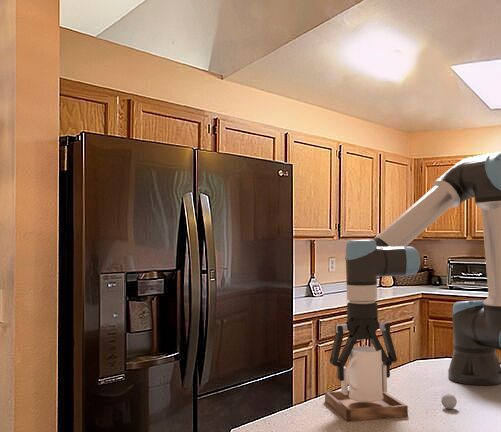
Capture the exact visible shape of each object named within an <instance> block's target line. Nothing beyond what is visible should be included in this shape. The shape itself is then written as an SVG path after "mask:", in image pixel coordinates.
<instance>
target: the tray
mask: <svg viewBox="0 0 501 432" xmlns="http://www.w3.org/2000/svg"><path fill="white" fill-rule="evenodd" d="M383 397H384V398H383V399H382V400H380V401H376V402H360V401H355V400H352V399H350V398H349V389H348V395H344V394H343V393H342V392H341V390H335V391H324V402H325V403H326V405H328V406H329V407H331V409H333V410H334V411H335V412H336V413H337V414H338V415H340V417H342V418H343V419H344V420H345V421H346V422H355V421H356V422H358V421H369V420H370V421H371V420H379V419H380V420H381V419H394V418H405V417H406V418H407V417H409V413H408V412H409V409H408V408H409V407H408V405H407V404H405V403H404V402H402V401H400V400H399V399H398V398H396V397H394V396H393V395H391V394H390V393H388V392H383Z"/></svg>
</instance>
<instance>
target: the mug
mask: <svg viewBox="0 0 501 432" xmlns="http://www.w3.org/2000/svg"><path fill="white" fill-rule="evenodd" d="M382 364H383V362H382V354H381V350H379V351H376V349H375V348H374V346H367V345H366V346H364V345H362V346H354V347H353V349H352V351H351V353H350V355H349V357H348V363H347V366H346V368H347V369H346V380H347V383H348V390H349V398H350V399H352V400H355V401H360V402H376V401H380V400H382V399H383V398H384V397H383V391H382Z"/></svg>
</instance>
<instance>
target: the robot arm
mask: <svg viewBox="0 0 501 432" xmlns="http://www.w3.org/2000/svg"><path fill="white" fill-rule="evenodd" d="M470 199H474V204H475V205H476V206H477V207H478V208H480V210H481V217H482V218H481V219H482V220H481V221H482V230H483V243H484V256H485V268H486V270H485V271H486V280H487V282H486V283H487V292H488V296H487V298H485V299H482V300H481V299H480V300H479V299H478V300H465V301H464V300H463V301H456V302H454V304H453V306H452V313H451V317H452V335H453V353H452V357H451V359H450V363H449V368H448V370H447V372H448V374H447V375H448V379H449V380H450V381H453V382H454V383H460V384H464V385H472V386H492V385H498V384H501V364H500V361H499V358H498V356H497V350H499V351H501V151H495V152H491V153H486V154H482V155H475V156H469V157H467V158H464V159H461V160H460V161H459V162H457V163H456V164H454V165H453V166H452V167H450V168H449V169H448V170H447V171H446V172H444V173H443V174H441V176H439V177H438V178H437V179H436V180H434V181H433V183H432V188H431V189H430V190H429V191H427V192H426V193H425V194H424V195H423V196H421V197H420V198H419V199H418V200H416V202H415V203H413V204H412V205H411V206H410V207H409V208H407V209H406V210H405V211H404V212H403V213H401V215H400V216H398V217H397V218H396V219H395V220H393V222H391V223H390V224H389V225H388V226H387V227H385V228H384V229H383V230H382V231H381V232H380V233H378V235H376V236H375V237H373V239H350V240H348V241H347V242H346V244H345V257H344V259H345V277H346V301H348V302H347V303H346V318H347V320H346V322H345V323H343V324H338V323H336V324H335V325H334V330H335V331H334V332H335V335H334V338H333V339H334V340H333V343H332V344H333V345H332V348H331V351H330V352H331V353H330V357H329V363H330V364H331V365H333V366H334V367H336V368H337V371H336V372H337V374H336V375H337V376H336V377H337V380H338V381H340V385H341V386H340V389H341V390H340V391H341V392H342V393H343V394H344V395H348V390H349V385H348V383H347V380H346V369H347V366H346V364H347V361H348V360H349V355H350V353H351V351H352V349H353V347H355V344H357V342H358V341H362V340H368V341H370V342H371V344H372V345H373V346H372V347H374V348H375V349H376V351H379V350H381V354H382V391H383V392H386V393H388V382H387V380H388V379H389V378H390V377H391V373H390V372H391V369H390V367H391V366H392V364H393V363H396V362H397V361H398V358H397V353H396V350H395V346H394V342H393V338H392V335H391V324H390V323H389V322H387V321H383V322H380V321H379V320H378V317H379V313H378V312H379V311H378V310H379V309H378V303H377V302H376V301H378V278H381V277H406V276H414V275H416V274H417V273H418V271H419V270H420V267H421V256H420V253H419V251H418V250H417V249H416V248H415V247H414V246H408V245H409V244H411V242H413V241H414V240H415V239H416V238H418V237H419V236H420V235H421V234H422V233H423V232H424V231H426V230H427V228H429V227H431V225H432V224H434V223H435V221H437V220H438V219H439V218H440V217H441V216H442V215H444V214H445V213H446V212H447V211H449V210H450V209H451V208H453V209H454V208H457V207H459V206H460V205H461V204H462V203H463V202H465V201H467V200H470ZM378 330H380V331H381V335H382V339H383V342H384V345H385V349H384V347H383V346H382V343H381V342H380V339H379V338H378V336H377V331H378ZM346 331H348V332H349V334H348V336H347V338H346V339H347V341H346V342H345V344H344V346H343V349H342V344H343V338H344V334H345V333H346ZM341 349H342V351H341ZM385 350H386V351H385ZM386 352H387V353H386Z"/></svg>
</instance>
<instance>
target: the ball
mask: <svg viewBox="0 0 501 432" xmlns="http://www.w3.org/2000/svg"><path fill="white" fill-rule="evenodd" d="M457 402H458V401H457V398H456V396H455V395H454V394H451V393H445V394H444V395H442V397H441V404H442V406H443V407H444V408H445V409H447V410H452V409H454V408H455V407H456V406H457Z"/></svg>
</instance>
